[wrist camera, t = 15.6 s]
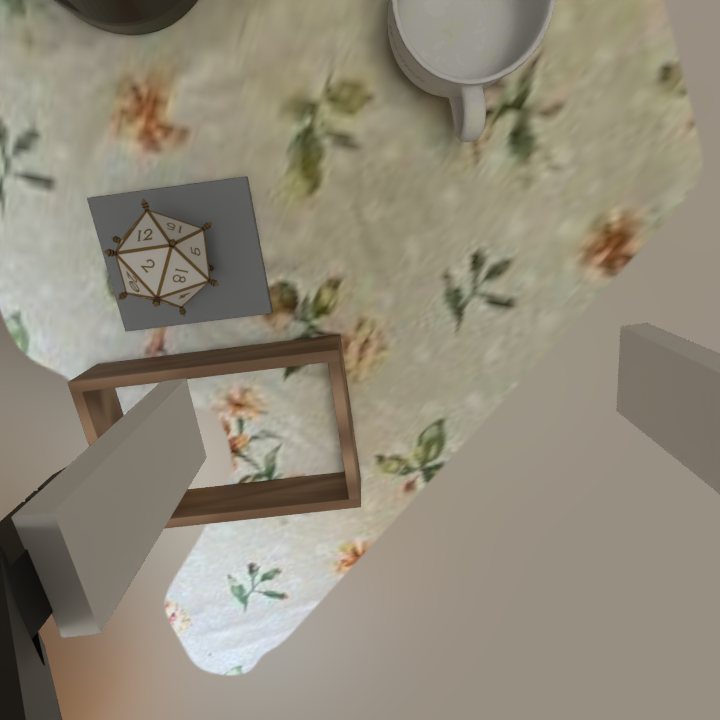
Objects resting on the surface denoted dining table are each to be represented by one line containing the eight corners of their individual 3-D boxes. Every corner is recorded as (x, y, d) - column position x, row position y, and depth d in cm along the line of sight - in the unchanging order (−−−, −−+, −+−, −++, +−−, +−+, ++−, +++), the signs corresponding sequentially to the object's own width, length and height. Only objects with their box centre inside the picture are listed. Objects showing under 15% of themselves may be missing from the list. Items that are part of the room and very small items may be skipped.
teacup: (392, -58, 36) (401, -128, 28) (533, -42, 36) (579, -106, 29) (373, 141, 40) (377, 127, 33) (499, 155, 41) (531, 144, 33)
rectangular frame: (97, 364, 47) (67, 382, 42) (340, 334, 46) (337, 349, 41) (141, 502, 52) (118, 533, 47) (360, 478, 51) (360, 507, 46)
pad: (90, 198, 42) (86, 198, 41) (247, 177, 41) (245, 176, 41) (128, 329, 45) (125, 331, 45) (272, 311, 45) (271, 313, 44)
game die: (208, 269, 47) (197, 351, 41) (113, 241, 43) (86, 327, 37) (236, 200, 41) (228, 285, 35) (128, 159, 37) (99, 248, 31)
